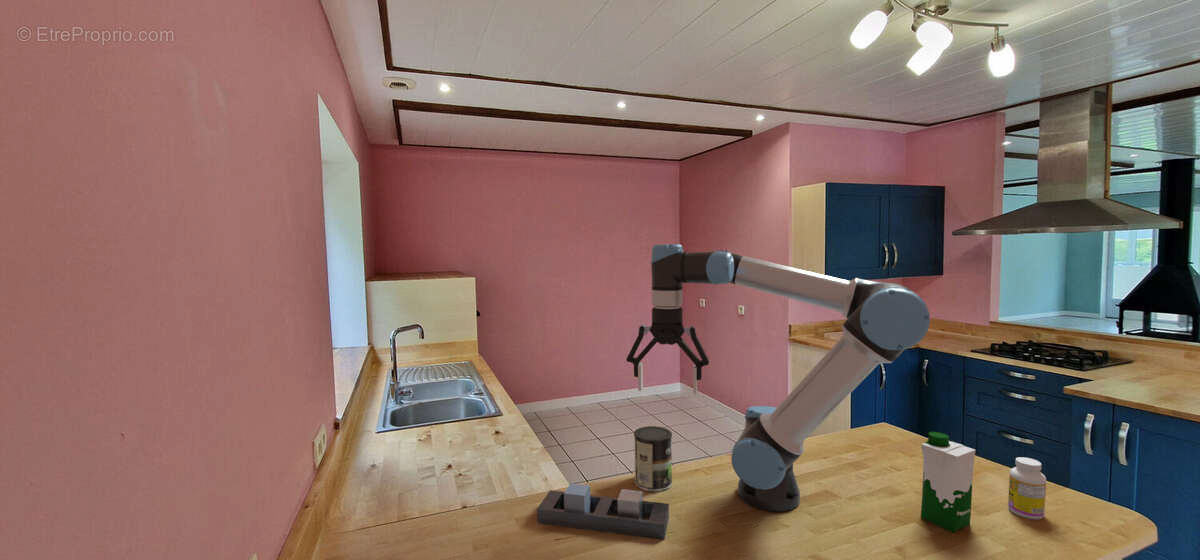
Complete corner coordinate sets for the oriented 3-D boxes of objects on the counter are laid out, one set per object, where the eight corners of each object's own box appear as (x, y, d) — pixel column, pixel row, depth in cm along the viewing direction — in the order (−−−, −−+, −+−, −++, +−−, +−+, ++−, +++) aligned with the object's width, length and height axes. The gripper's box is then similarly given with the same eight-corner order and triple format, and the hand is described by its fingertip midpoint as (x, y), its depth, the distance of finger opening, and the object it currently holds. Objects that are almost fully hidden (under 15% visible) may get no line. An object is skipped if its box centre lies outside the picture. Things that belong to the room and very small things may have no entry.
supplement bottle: (1009, 502, 123) (1012, 452, 122) (1045, 512, 118) (1048, 460, 117) (1005, 513, 118) (1008, 461, 117) (1043, 524, 114) (1046, 470, 113)
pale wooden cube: (642, 519, 118) (642, 491, 117) (639, 531, 113) (639, 502, 112) (622, 517, 119) (621, 489, 119) (617, 528, 114) (617, 499, 114)
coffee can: (673, 475, 140) (672, 426, 139) (670, 493, 130) (670, 441, 129) (636, 472, 142) (636, 424, 141) (631, 490, 132) (631, 438, 131)
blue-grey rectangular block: (590, 513, 121) (589, 485, 120) (584, 524, 116) (584, 495, 116) (570, 510, 122) (570, 483, 122) (564, 521, 117) (563, 493, 117)
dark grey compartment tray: (668, 517, 118) (668, 503, 118) (664, 539, 110) (664, 524, 109) (550, 503, 126) (549, 490, 125) (537, 523, 117) (537, 508, 117)
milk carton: (935, 507, 121) (938, 428, 120) (977, 525, 113) (981, 441, 112) (914, 516, 117) (917, 434, 116) (956, 536, 109) (959, 449, 108)
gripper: (719, 305, 123) (718, 389, 124) (620, 304, 129) (621, 384, 130) (718, 309, 115) (718, 398, 117) (614, 307, 121) (615, 392, 123)
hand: (667, 391), depth 124 cm, fingers open, 13 cm apart
